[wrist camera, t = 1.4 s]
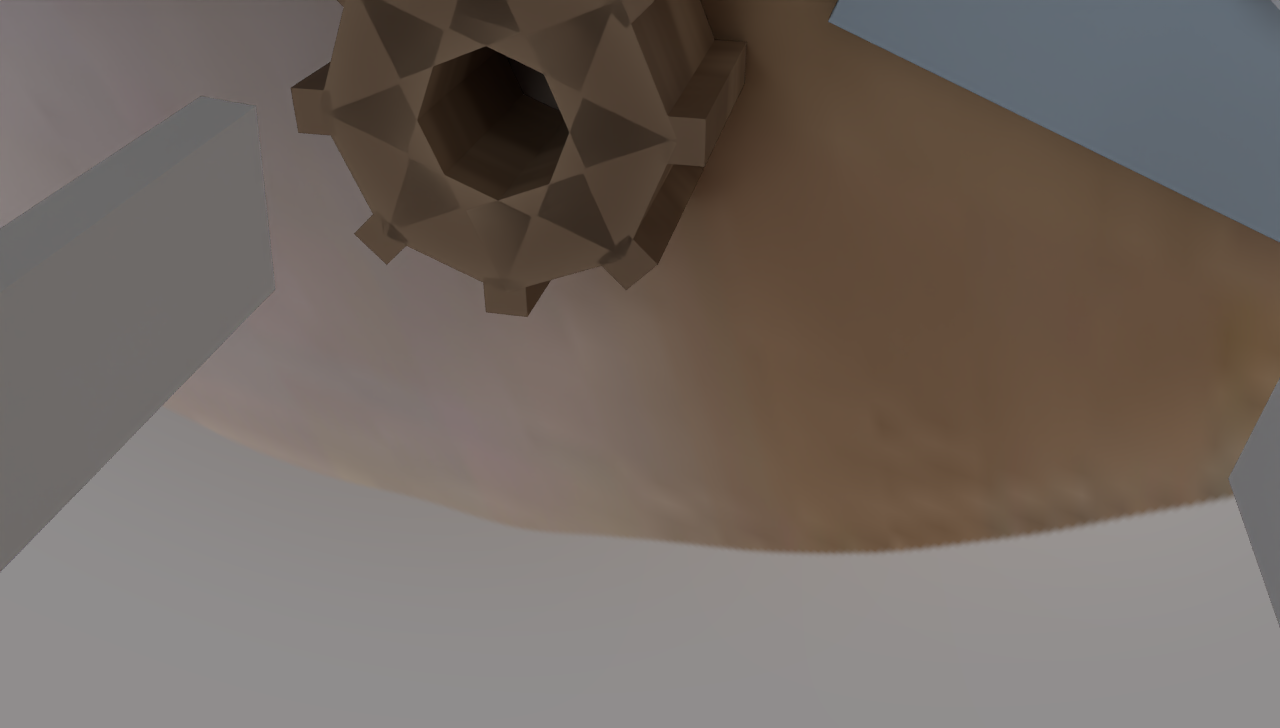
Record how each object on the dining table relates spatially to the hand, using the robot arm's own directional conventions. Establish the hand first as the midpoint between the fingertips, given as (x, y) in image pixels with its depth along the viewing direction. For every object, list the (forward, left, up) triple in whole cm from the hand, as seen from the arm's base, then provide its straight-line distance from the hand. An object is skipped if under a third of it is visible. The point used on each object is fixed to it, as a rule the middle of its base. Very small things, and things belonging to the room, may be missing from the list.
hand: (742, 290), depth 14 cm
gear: (-6, -5, -17) cm, 18 cm away
